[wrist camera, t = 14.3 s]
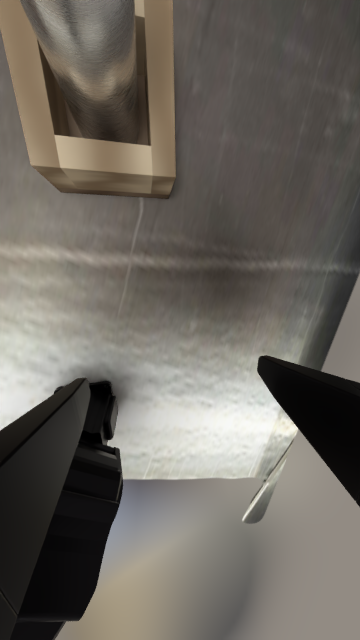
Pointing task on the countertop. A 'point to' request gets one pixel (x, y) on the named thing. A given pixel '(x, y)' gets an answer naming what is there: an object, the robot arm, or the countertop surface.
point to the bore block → (61, 129)
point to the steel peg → (92, 62)
